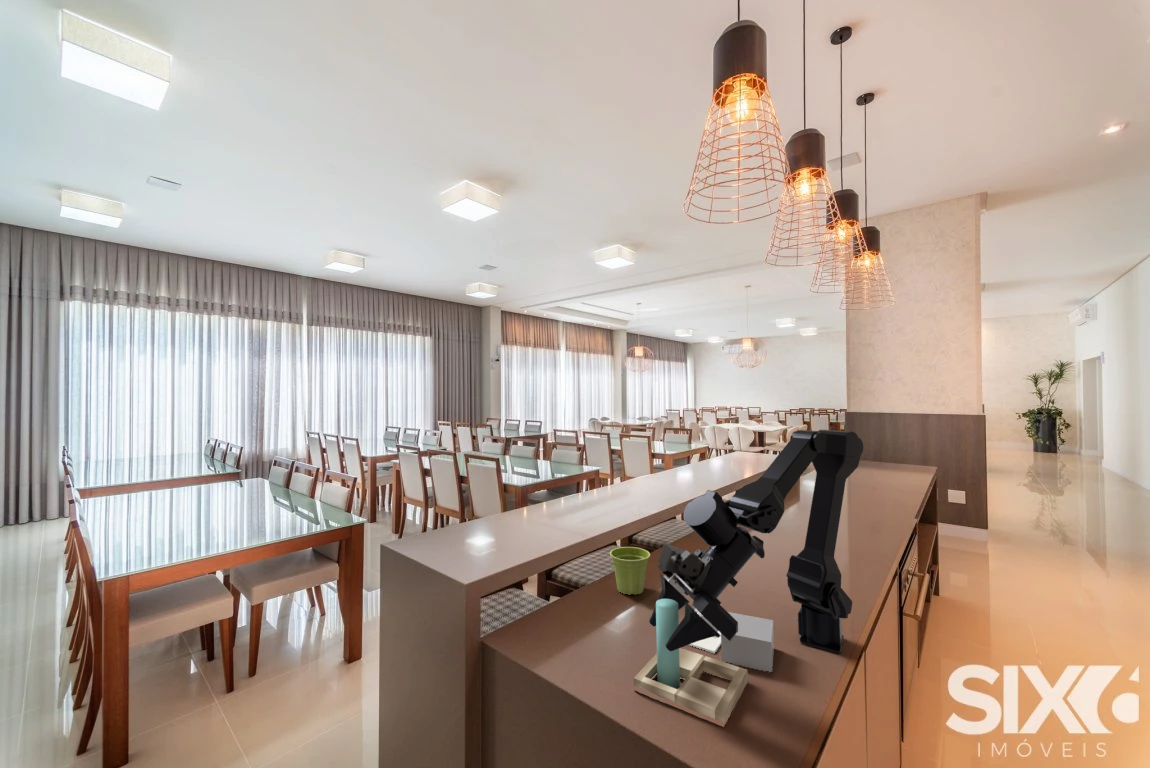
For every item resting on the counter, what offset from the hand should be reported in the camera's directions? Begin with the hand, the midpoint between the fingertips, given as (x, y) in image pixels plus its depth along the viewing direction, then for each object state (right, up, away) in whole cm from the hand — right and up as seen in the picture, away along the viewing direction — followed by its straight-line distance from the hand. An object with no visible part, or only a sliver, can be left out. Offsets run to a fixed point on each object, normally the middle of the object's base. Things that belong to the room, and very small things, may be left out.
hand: (659, 636), depth 72 cm
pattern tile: (+11, -8, +14) cm, 20 cm away
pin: (+2, -8, 0) cm, 8 cm away
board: (+5, -8, 0) cm, 9 cm away
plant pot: (0, -9, +36) cm, 37 cm away
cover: (+17, -8, +8) cm, 21 cm away
